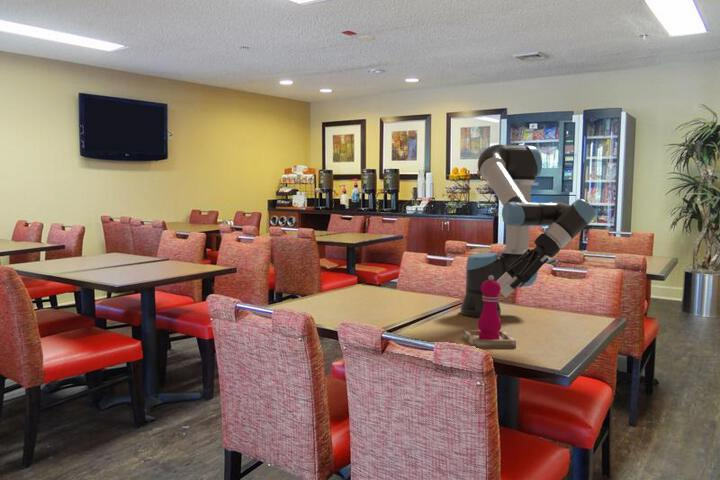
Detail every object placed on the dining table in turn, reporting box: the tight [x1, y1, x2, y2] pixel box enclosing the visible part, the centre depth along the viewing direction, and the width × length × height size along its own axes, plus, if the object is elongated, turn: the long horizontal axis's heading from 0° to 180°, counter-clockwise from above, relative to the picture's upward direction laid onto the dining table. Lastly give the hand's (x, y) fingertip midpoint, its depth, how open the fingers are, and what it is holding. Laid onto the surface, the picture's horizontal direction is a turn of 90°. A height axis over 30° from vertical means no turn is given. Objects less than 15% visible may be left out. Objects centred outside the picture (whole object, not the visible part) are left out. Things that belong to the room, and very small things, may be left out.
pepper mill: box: [477, 275, 502, 340], centre depth 176 cm, size 7×7×20 cm
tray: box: [462, 329, 517, 349], centre depth 177 cm, size 13×13×2 cm
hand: (498, 291), depth 176 cm, fingers open, 9 cm apart
